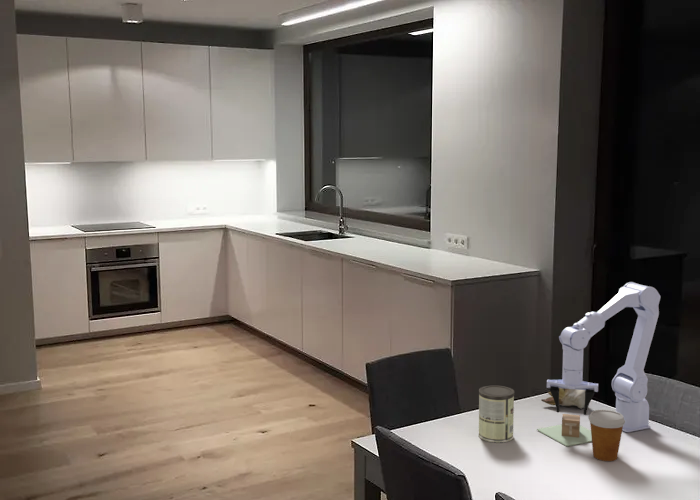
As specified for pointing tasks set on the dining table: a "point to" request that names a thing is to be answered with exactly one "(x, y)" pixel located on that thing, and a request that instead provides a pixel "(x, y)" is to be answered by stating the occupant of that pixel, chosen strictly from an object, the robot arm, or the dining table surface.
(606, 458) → the disposable coffee cup
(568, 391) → the ceramic sculpture
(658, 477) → the dining table surface
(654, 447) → the dining table surface
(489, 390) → the coffee can
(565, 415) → the letter cube
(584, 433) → the mat
